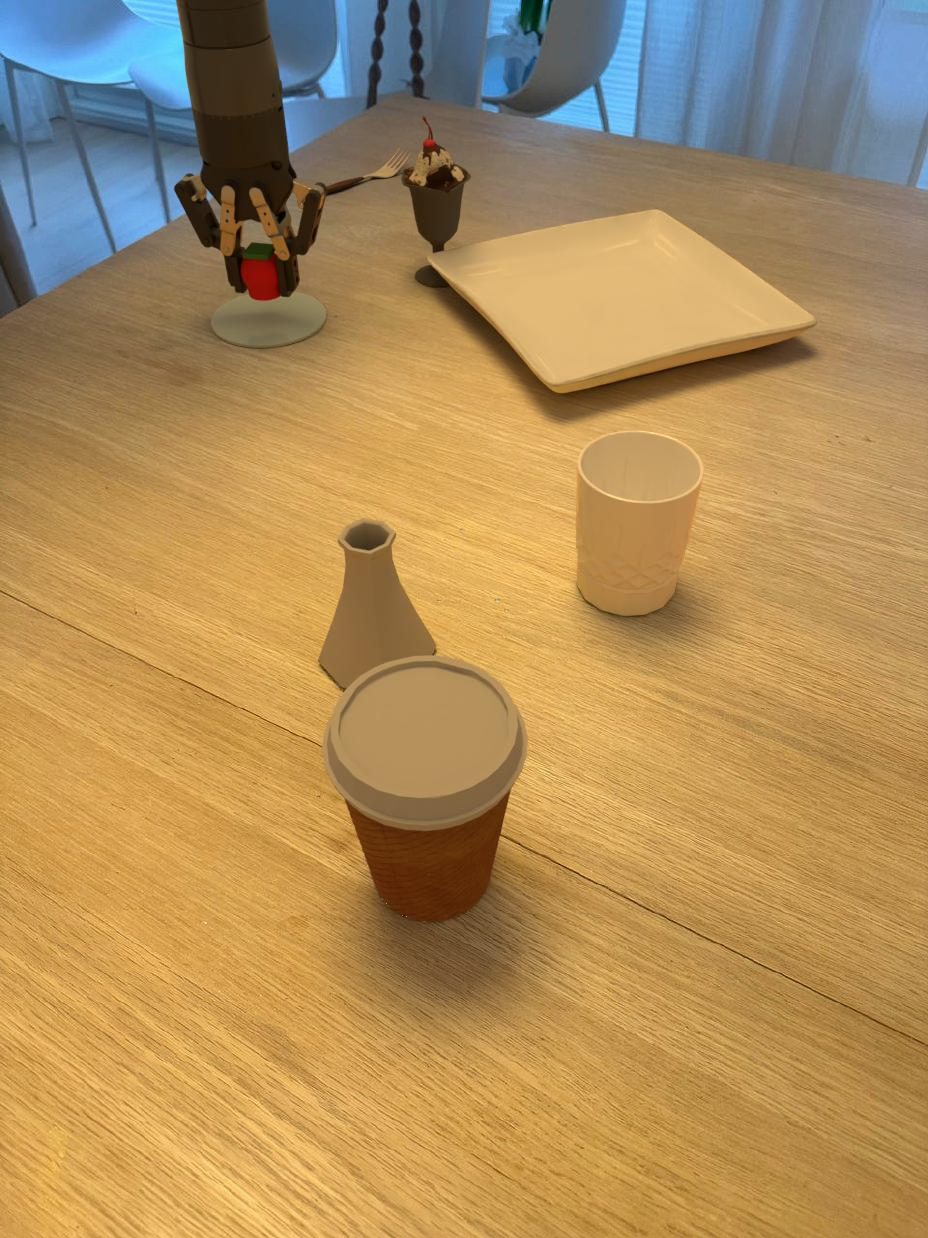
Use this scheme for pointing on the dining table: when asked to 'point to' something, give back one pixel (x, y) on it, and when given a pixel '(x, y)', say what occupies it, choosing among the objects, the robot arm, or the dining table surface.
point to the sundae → (435, 200)
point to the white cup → (634, 518)
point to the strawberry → (260, 271)
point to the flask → (371, 608)
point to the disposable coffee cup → (426, 778)
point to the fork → (381, 173)
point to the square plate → (617, 298)
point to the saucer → (268, 320)
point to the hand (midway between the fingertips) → (265, 290)
